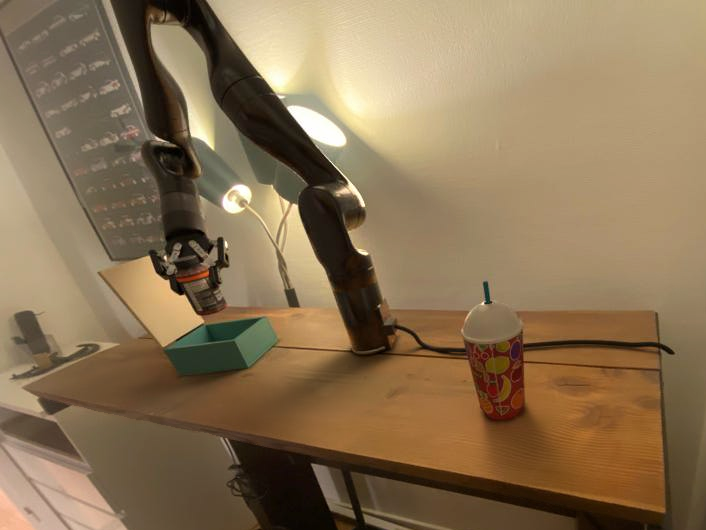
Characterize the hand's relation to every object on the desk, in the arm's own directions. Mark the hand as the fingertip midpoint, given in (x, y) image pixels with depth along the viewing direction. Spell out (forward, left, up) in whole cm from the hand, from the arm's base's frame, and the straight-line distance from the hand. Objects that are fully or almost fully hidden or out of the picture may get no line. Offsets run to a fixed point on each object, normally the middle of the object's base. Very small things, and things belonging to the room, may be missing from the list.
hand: (198, 289), depth 75 cm
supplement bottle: (+1, -2, -5) cm, 6 cm away
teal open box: (+5, -6, -18) cm, 20 cm away
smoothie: (-59, +25, -18) cm, 66 cm away
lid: (+15, -6, -2) cm, 16 cm away
